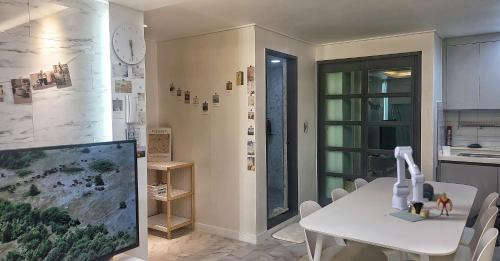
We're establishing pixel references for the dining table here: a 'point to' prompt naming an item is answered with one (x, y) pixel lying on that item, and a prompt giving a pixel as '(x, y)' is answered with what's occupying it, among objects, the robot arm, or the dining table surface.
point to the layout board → (412, 216)
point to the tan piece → (422, 212)
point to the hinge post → (410, 208)
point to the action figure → (444, 203)
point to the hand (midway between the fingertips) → (417, 213)
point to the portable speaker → (428, 191)
